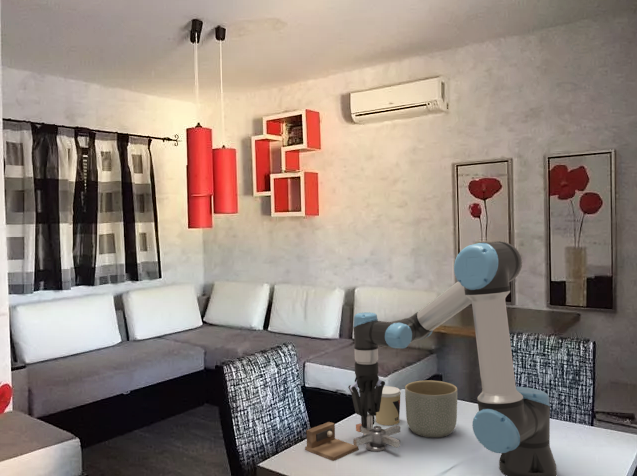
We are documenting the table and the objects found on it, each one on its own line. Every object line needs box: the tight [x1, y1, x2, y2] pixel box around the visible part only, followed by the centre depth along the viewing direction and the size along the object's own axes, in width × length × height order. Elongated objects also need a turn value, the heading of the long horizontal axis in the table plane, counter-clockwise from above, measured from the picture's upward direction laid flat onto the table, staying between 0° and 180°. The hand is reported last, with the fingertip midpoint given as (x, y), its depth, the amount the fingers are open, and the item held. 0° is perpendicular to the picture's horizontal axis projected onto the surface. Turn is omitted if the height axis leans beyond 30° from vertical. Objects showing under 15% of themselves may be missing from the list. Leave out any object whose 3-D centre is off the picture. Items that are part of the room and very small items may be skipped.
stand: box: [304, 421, 359, 462], centre depth 180 cm, size 20×21×7 cm
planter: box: [404, 379, 458, 438], centre depth 194 cm, size 17×17×15 cm
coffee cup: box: [375, 385, 402, 426], centre depth 203 cm, size 9×9×12 cm
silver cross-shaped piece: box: [353, 423, 401, 453], centre depth 181 cm, size 18×18×6 cm
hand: (368, 435), depth 187 cm, fingers closed
